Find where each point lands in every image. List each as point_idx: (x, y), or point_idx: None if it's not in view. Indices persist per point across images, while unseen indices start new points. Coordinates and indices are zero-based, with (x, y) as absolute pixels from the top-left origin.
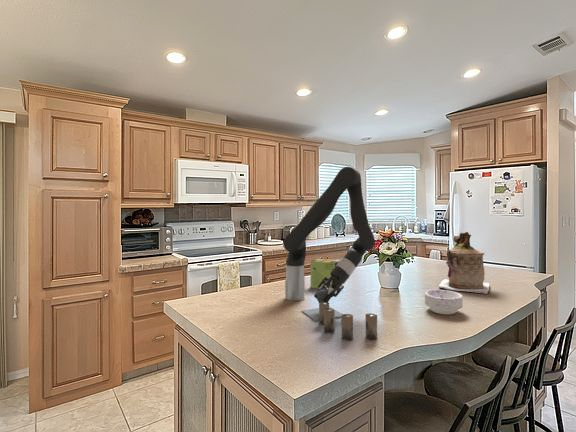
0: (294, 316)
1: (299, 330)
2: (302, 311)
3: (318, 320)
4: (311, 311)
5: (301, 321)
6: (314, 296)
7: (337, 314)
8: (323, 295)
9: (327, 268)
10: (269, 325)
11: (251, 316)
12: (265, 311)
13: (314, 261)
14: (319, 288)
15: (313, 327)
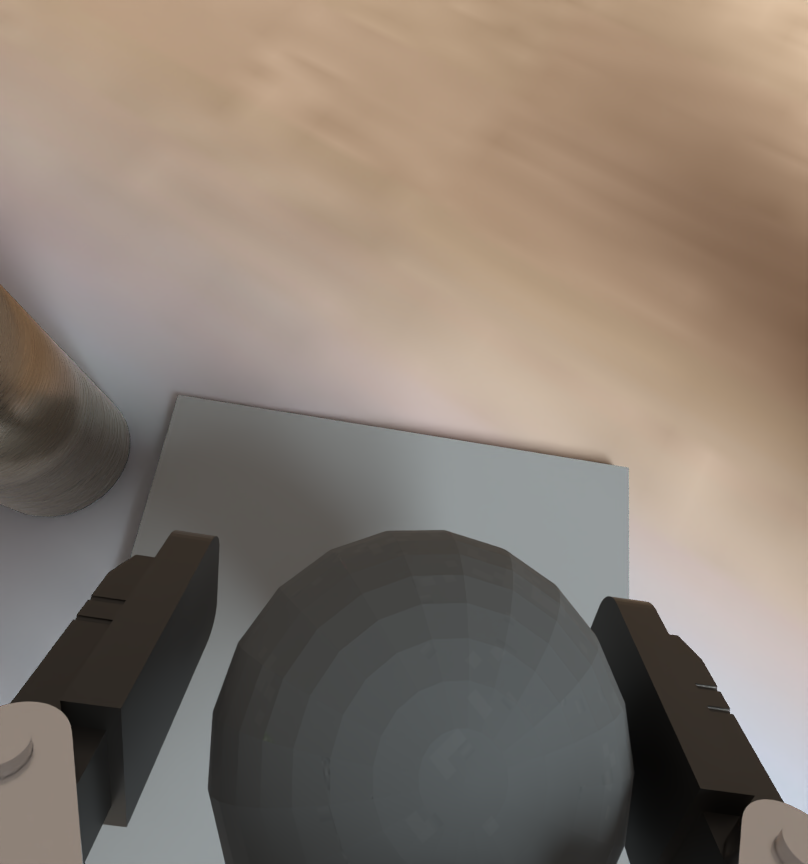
0: (495, 306)
1: (82, 119)
2: (594, 463)
3: (172, 434)
4: (523, 559)
5: (297, 274)
6: (629, 601)
7: (157, 860)
8: (260, 620)
9: None
10: (379, 13)
11: (683, 21)
12: (785, 168)
13: None
14: (783, 828)
15: (43, 265)
